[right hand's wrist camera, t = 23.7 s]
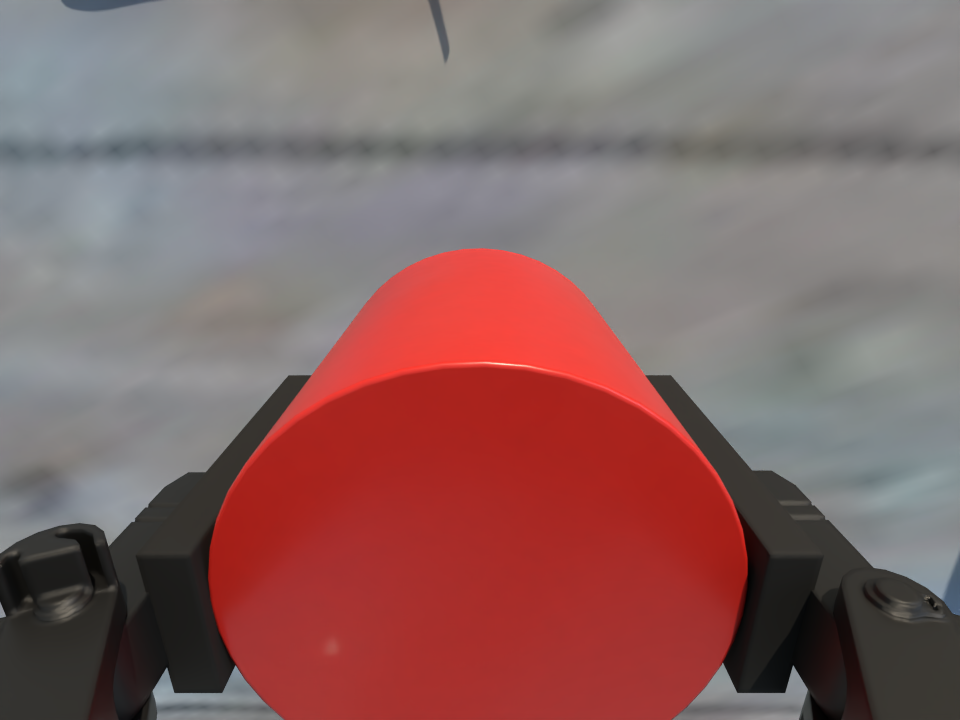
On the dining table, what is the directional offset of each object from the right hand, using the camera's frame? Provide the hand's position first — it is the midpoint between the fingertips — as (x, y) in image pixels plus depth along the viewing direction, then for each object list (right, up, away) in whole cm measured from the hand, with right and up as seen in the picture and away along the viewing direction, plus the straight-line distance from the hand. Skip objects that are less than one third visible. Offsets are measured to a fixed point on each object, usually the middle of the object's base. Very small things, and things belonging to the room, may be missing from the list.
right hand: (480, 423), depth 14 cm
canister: (0, +1, +2) cm, 2 cm away
